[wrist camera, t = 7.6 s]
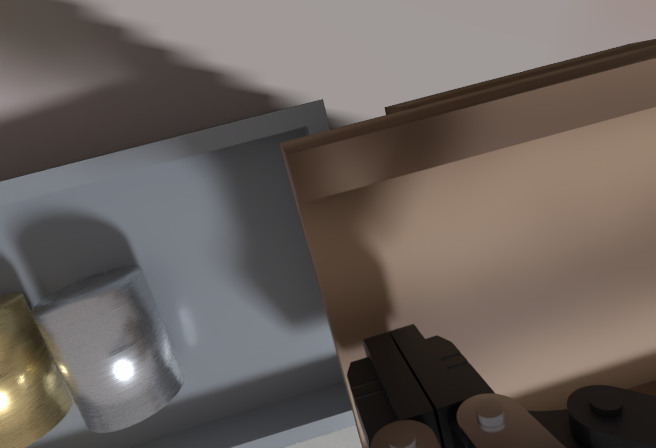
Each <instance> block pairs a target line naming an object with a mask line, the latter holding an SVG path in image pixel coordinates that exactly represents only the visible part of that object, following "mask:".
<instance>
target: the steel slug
mask: <svg viewBox="0 0 656 448" xmlns="http://www.w3.org/2000/svg"><path fill="white" fill-rule="evenodd" d="M31 314H32V316H33V318H34V320H35V322H36V324H37V326H38V328H39V330H40V332H41V335H42V337H43V339H44V341H45V343H46V345H47V347H48V349H49V351H50V353H51V355H52V357H53V359H54V361H55V363H56V365H57V367H58V369H59V371H60V373H61V375H62V377H63V380H64V382H65V384H66V386H67V388H68V390H69V392H70V394H71V396H72V398H73V400H74V402H75V404H76V406H77V408H78V410H79V412H80V414H81V416H82V418H83V420H84V423H85V425H86V426H87V428H88V429H89V430H91V431H93V432H97V433H107V432H113V431H117V430H121V429H124V428H127V427H130V426H132V425H134V424H137V423H139V422H141V421H143V420H145V419H146V418H148V417H150V416H152V415H153V414H155V413H156V412H158V411H159V410H160V409H162V408H163V407H164V406H165V405H167V404H168V403H169V402H170V401H171V400H172V399H173V398H174V397H175V396H176V395H177V394H178V392H179V391H180V389H181V388H182V386H183V384H184V380H185V375H184V372H183V370H182V367H181V365H180V362H179V360H178V357H177V355H176V352H175V350H174V347H173V345H172V342H171V340H170V337H169V335H168V332H167V330H166V327H165V325H164V322H163V320H162V318H161V315H160V313H159V310H158V308H157V305H156V303H155V300H154V298H153V295H152V293H151V290H150V288H149V285H148V283H147V280H146V278H145V275H144V273H143V270H142V268H141V267H138V266H128V267H122V268H117V269H113V270H109V271H106V272H102V273H99V274H96V275H93V276H91V277H88V278H85V279H83V280H80V281H78V282H75V283H73V284H71V285H69V286H67V287H64V288H62V289H60V290H58V291H57V292H55V293H53V294H51V295H49V296H48V297H46V298H45V299H43V300H42V301H40V302H39V303H38V304H36V305H35V306H34V307H33V309H32V310H31Z"/></svg>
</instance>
